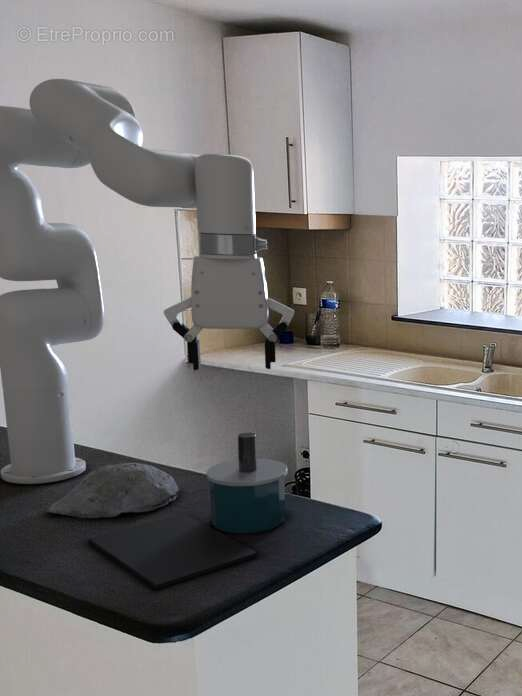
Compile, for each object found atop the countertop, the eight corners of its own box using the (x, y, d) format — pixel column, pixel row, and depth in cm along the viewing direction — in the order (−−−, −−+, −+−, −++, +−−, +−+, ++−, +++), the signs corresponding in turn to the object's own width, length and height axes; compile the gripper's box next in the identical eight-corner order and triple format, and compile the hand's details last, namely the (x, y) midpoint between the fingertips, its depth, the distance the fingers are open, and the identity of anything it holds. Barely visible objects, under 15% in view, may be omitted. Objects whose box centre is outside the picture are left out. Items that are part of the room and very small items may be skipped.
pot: (215, 509, 126) (213, 464, 124) (285, 505, 129) (284, 461, 127) (208, 535, 116) (206, 486, 114) (285, 531, 119) (283, 483, 117)
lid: (210, 467, 124) (208, 425, 123) (288, 464, 128) (287, 423, 126) (202, 492, 114) (200, 447, 112) (287, 488, 117) (286, 444, 115)
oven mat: (88, 542, 112) (88, 538, 111) (185, 517, 122) (185, 513, 122) (156, 589, 99) (156, 585, 99) (257, 556, 110) (257, 552, 110)
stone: (116, 458, 137) (191, 445, 133) (128, 500, 138) (202, 489, 134) (33, 485, 120) (116, 472, 116) (46, 533, 121) (129, 522, 117)
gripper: (292, 247, 117) (295, 362, 121) (163, 244, 112) (170, 364, 116) (293, 250, 110) (296, 371, 114) (156, 246, 105) (164, 374, 109)
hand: (233, 367), depth 115 cm, fingers open, 9 cm apart
